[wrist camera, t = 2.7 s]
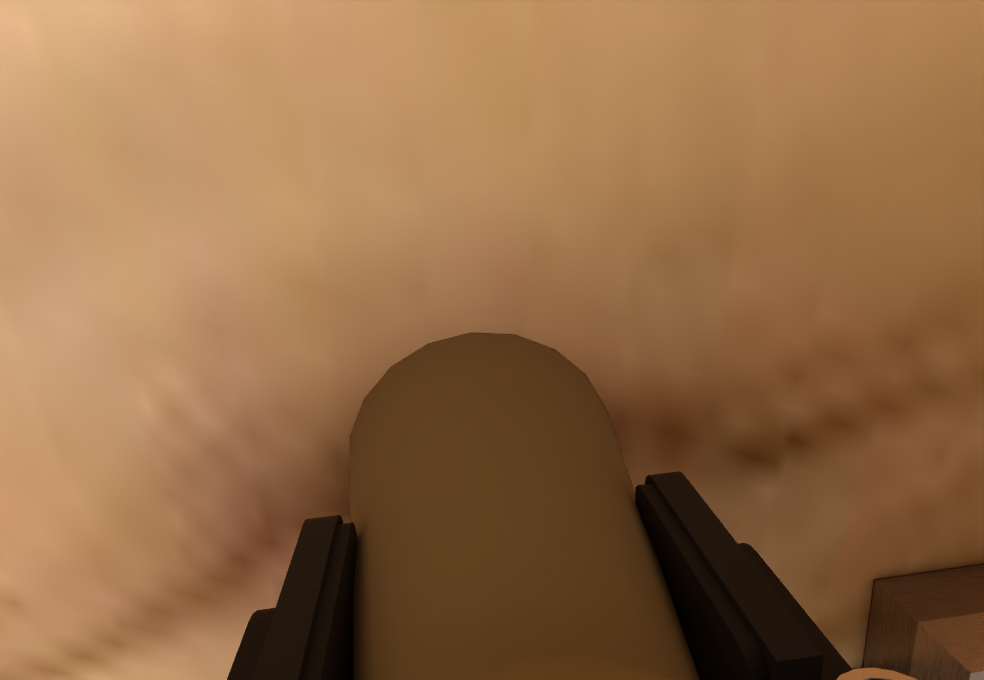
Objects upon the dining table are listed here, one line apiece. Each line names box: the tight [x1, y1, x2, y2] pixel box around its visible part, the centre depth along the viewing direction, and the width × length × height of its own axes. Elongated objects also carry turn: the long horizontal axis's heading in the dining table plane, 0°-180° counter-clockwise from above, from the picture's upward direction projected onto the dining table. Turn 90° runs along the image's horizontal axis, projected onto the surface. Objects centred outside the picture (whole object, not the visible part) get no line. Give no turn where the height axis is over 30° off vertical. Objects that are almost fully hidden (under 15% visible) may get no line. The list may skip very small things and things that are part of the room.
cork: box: [349, 333, 700, 680], centre depth 9 cm, size 6×6×11 cm
